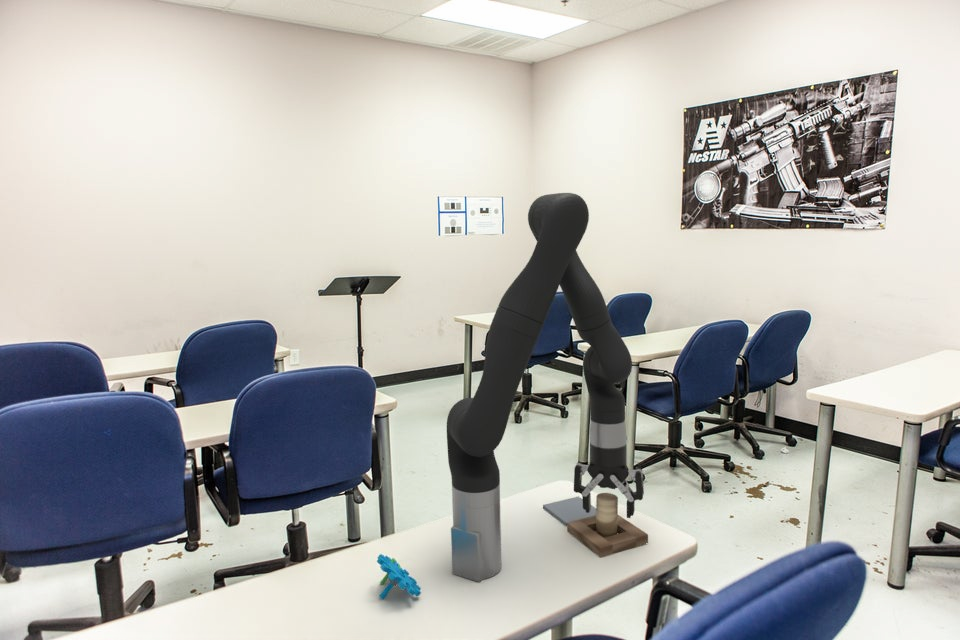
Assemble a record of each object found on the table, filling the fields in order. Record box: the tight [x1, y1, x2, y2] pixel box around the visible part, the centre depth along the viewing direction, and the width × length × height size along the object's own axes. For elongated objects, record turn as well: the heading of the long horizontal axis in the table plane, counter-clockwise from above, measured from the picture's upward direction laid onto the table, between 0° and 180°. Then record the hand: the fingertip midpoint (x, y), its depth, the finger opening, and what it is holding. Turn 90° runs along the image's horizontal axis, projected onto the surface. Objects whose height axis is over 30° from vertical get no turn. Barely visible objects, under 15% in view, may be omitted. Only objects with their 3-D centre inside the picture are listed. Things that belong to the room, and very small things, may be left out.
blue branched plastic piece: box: [376, 553, 422, 600], centre depth 109 cm, size 11×6×10 cm
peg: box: [595, 492, 619, 538], centre depth 127 cm, size 4×4×9 cm
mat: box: [542, 495, 596, 527], centre depth 139 cm, size 10×10×1 cm
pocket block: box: [566, 514, 649, 558], centre depth 127 cm, size 12×12×2 cm
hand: (608, 513), depth 127 cm, fingers open, 8 cm apart
